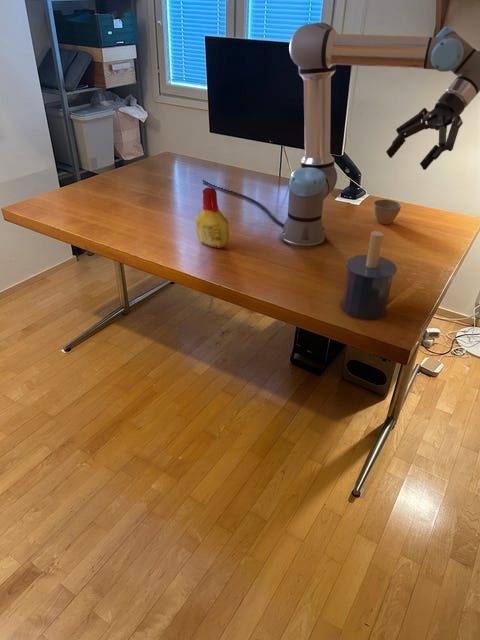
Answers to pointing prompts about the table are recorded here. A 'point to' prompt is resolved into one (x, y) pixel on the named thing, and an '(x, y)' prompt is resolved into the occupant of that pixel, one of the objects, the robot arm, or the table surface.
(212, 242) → the bottle
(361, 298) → the dark blue cylinder
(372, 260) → the lid
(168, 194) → the table surface
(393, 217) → the flower pot
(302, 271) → the table surface
